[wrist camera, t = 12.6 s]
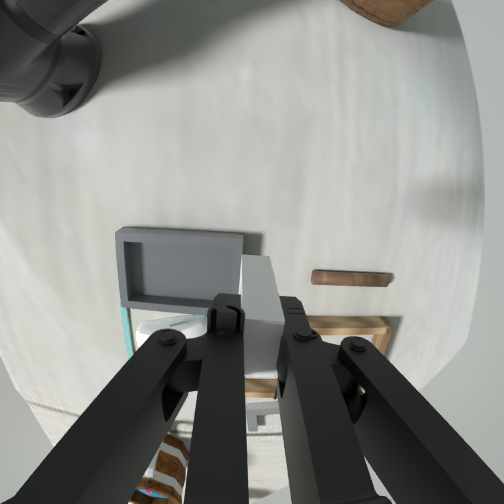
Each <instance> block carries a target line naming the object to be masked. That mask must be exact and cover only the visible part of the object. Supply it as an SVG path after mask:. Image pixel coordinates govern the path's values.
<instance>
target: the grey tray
mask: <svg viewBox="0 0 504 504" xmlns="http://www.w3.org/2000/svg"><path fill="white" fill-rule="evenodd" d="M115 240H116V256H117V268H118V279H119V289H120V298H121V306H122V307H124V308H132V309H142V310H151V311H162V312H172V313H184V314H196V315H207V311H208V309H209V308H210V307H212V306H213V300H214V297H215V296H217V295H218V294H219V293H226V294H239V283H240V270H241V258H242V253H243V233H229V232H211V231H193V230H175V229H155V228H134V227H122V228H121V229H119V230H118V231H116V232H115Z"/></svg>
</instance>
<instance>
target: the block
mask: <svg viewBox="0 0 504 504" xmlns="http://www.w3.org/2000/svg"><path fill="white" fill-rule="evenodd" d="M339 1H341V2H343V3H344V4H345V5H346V6H348V7H349V8H350V9H351V10H353V11H355V12H356V13H358V14H360V15H362V16H364V17H365V18H367V19H369V20H371V21H373V22H376V23H379V24H382V25H384V26H391V27H392V26H395V25H397V24H399V23H401V22H403V21H405V20H407V19H408V18H410V17H411V16H413V15H414V14H415V13H416V12H418V11H419V9H422V8H423V7H425V6H426V5H428V4H429V3H431V2H432V1H433V0H339Z"/></svg>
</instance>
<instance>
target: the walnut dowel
mask: <svg viewBox="0 0 504 504" xmlns="http://www.w3.org/2000/svg"><path fill="white" fill-rule="evenodd" d="M311 283H312V284H314V285H339V286H369V287H387V286H388V284H389V276H388V274H374V273H352V272H332V271H312V277H311Z"/></svg>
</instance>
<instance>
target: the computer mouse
mask: <svg viewBox="0 0 504 504" xmlns="http://www.w3.org/2000/svg"><path fill="white" fill-rule="evenodd" d="M160 329H175V330H178V331H180V332H182V333H183V334H184V335H185V336H186V339H188V338H195V337H199V336H202V335H203V334H205V333H206V332H207V317H206V315H196V314H195V315H187V316H180V317H173V318H166V319H159V320H152V321H145V322H143V323H141V324H139V326H138V328H137V332H136V339H137V344H138V346H139V347H140V346H141V345H142V344H143V343H144V342H145V341H146V340H147V338H148V337H149V336H150V335H151V334H152V333H154V332H155V331H157V330H160Z"/></svg>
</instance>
